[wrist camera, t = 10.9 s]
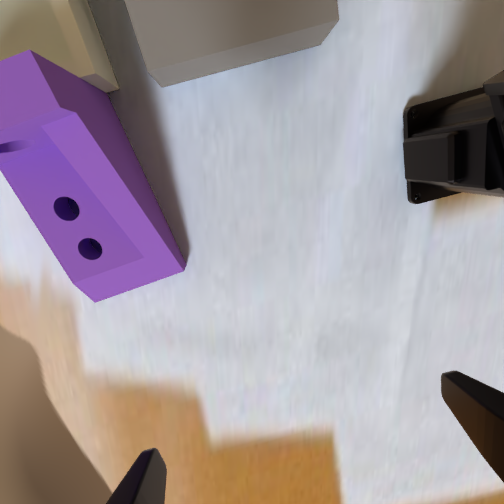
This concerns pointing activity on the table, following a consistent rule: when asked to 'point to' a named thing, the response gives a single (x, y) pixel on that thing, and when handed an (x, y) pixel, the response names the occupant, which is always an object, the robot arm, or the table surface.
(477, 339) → the table surface
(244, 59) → the holder
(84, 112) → the bracket
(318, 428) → the table surface
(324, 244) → the table surface
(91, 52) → the tray
